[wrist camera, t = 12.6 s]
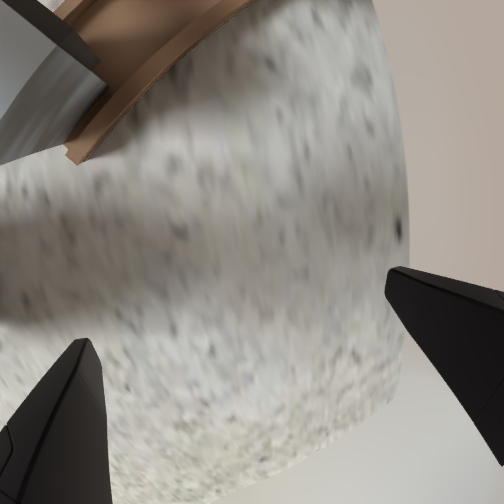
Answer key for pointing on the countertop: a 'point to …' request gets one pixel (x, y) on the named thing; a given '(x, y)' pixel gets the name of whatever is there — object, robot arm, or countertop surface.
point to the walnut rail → (89, 65)
